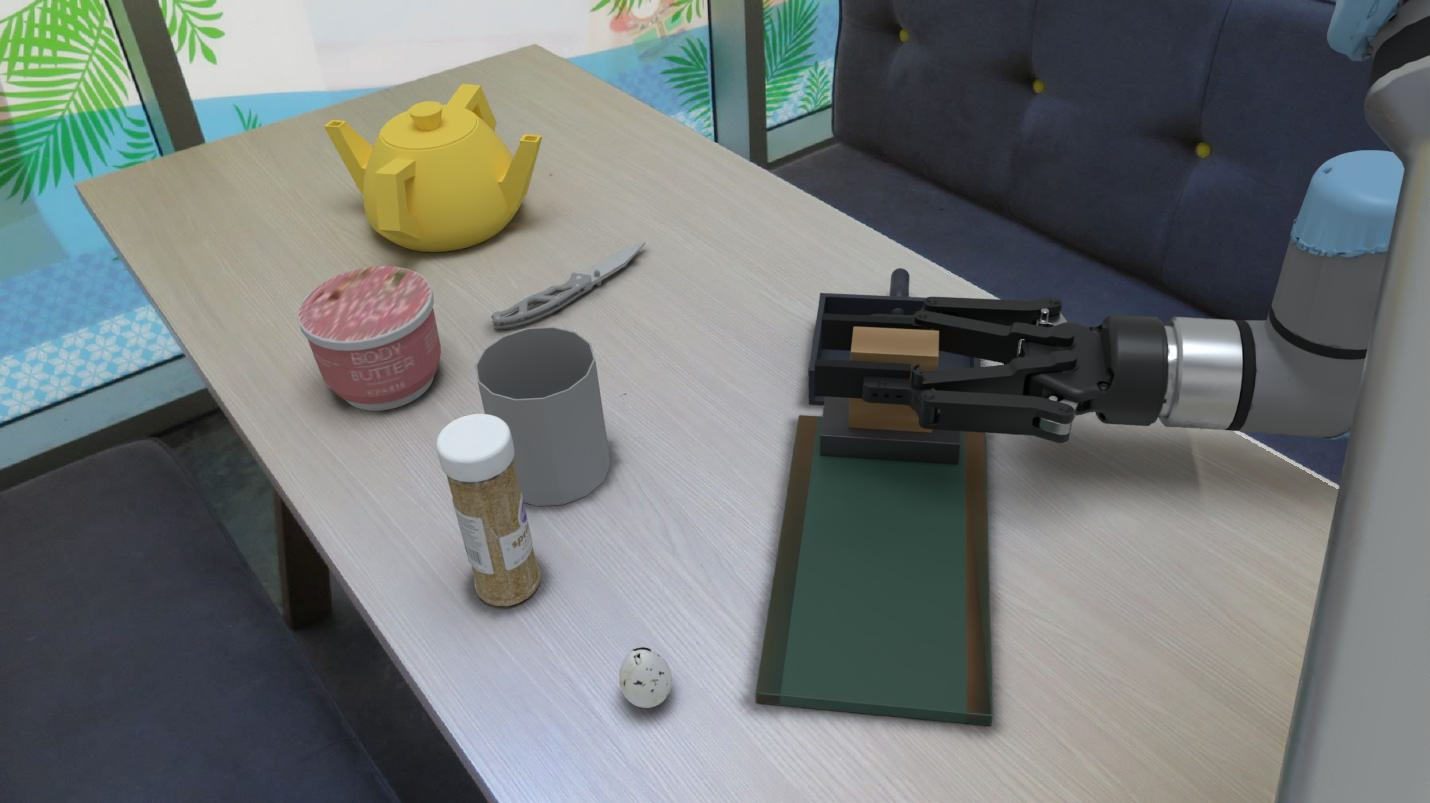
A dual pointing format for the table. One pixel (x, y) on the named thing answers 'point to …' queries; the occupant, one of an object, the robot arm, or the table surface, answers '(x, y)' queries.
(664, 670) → the egg
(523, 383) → the cup
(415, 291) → the container
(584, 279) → the knife
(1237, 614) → the table surface
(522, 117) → the table surface
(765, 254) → the table surface
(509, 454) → the sprinkles bottle
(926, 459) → the eraser
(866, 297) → the dustpan
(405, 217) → the teapot
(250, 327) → the table surface
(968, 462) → the chalkboard
